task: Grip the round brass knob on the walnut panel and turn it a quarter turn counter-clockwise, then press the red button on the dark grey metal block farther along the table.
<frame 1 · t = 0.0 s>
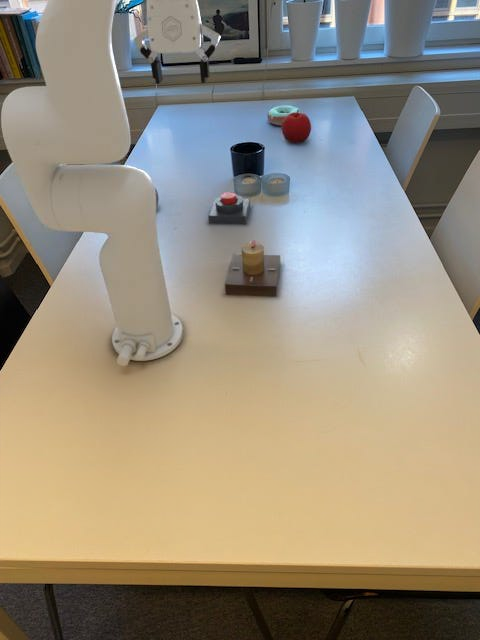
hand: (181, 81, 102), 31 cm above the table, tool pointing down, fingers open, 9 cm apart
apple: (296, 141, 158), on the table
vase: (147, 210, 126), on the table
knob: (253, 257, 97), point 5 cm above the table, hinge at 0.0°
button: (228, 198, 119), point 4 cm above the table, slide at 0.1 cm
donut: (284, 122, 173), on the table
button block: (230, 215, 122), on the table
panel: (253, 279, 100), on the table
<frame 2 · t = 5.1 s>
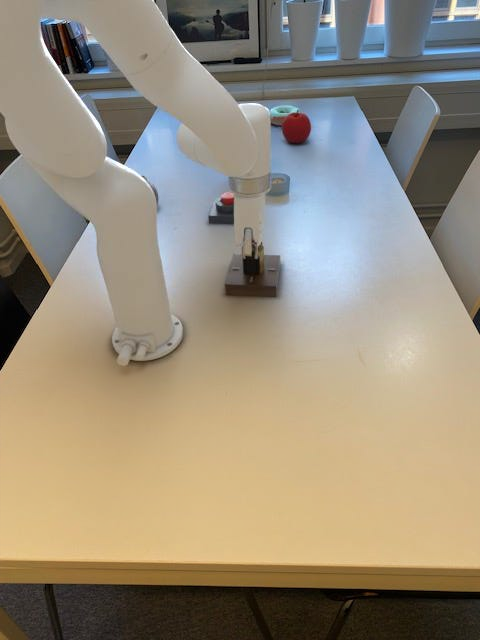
hand: (253, 265, 98), 3 cm above the table, tool pointing down, fingers closed on knob, 4 cm apart
knob: (253, 257, 97), point 5 cm above the table, hinge at 0.1°, touching gripper
everything else where it was.
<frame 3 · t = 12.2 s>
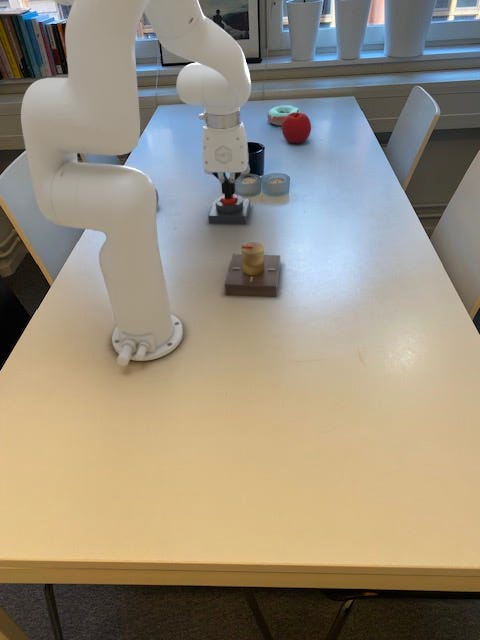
hand: (229, 196, 119), 5 cm above the table, tool pointing down, fingers closed
knob: (253, 257, 97), point 5 cm above the table, hinge at 88.9°
button: (229, 199, 119), point 4 cm above the table, slide at -0.3 cm, touching gripper
everything else where it was.
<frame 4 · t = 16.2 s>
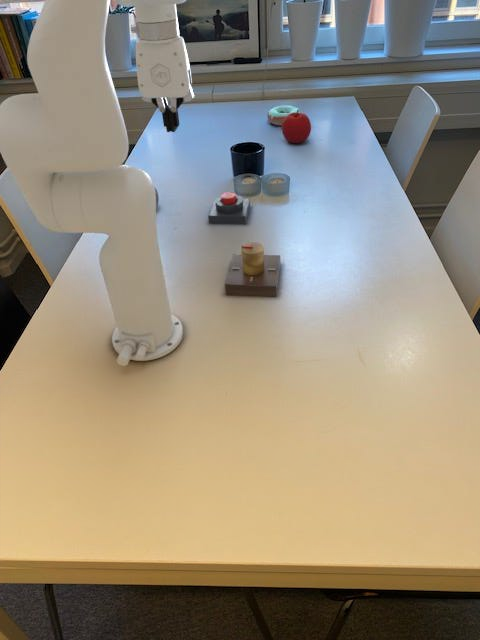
hand: (172, 129, 104), 23 cm above the table, tool pointing down, fingers closed
button: (228, 198, 119), point 4 cm above the table, slide at 0.1 cm
everything else where it was.
at the end: knob at +89° (first picture: +0°); button pushed in 1.1 cm at the most during the clip, back to where it started at the end; button slide at 0.1 cm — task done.
